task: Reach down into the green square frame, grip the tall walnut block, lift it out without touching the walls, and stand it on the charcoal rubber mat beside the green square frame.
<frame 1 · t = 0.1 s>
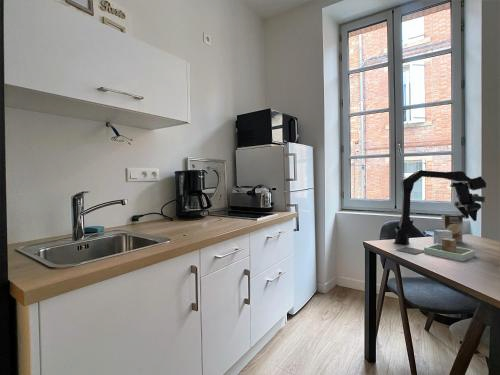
hand: (471, 219, 147), 15 cm above the table, tool pointing down, fingers open, 9 cm apart
coffee box: (451, 240, 162), on the table
walnut block: (448, 246, 135), in the green square frame
medicine box: (442, 245, 152), on the table
green square frame: (448, 254, 135), on the table
mat: (410, 251, 143), on the table
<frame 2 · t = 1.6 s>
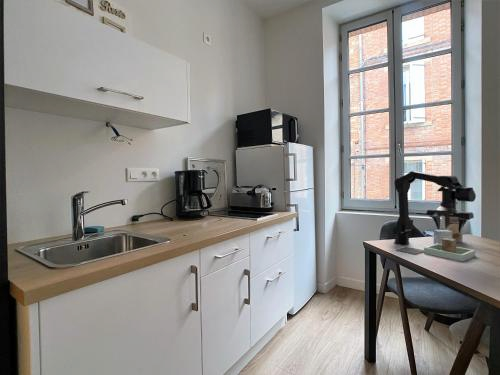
hand: (448, 230, 135), 12 cm above the table, tool pointing down, fingers open, 9 cm apart
nothing on the table moved.
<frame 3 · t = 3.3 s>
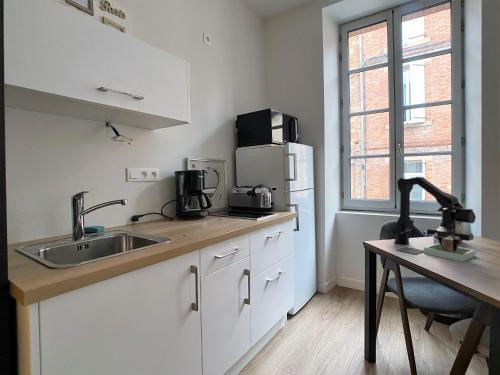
hand: (448, 250, 135), 2 cm above the table, tool pointing down, fingers closed on walnut block, 4 cm apart
walnut block: (448, 246, 135), in the green square frame, touching gripper
everything else where it was.
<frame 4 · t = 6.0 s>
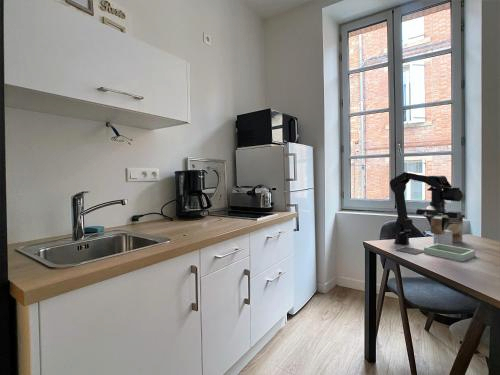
hand: (437, 229, 137), 13 cm above the table, tool pointing down, fingers closed on walnut block, 4 cm apart
walnut block: (437, 225, 137), point 15 cm above the table, touching gripper
everything else where it was.
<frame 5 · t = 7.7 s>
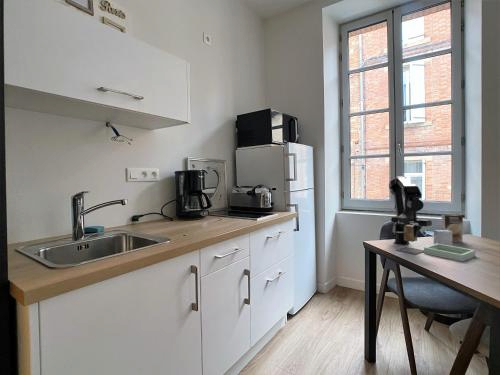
hand: (410, 236, 143), 8 cm above the table, tool pointing down, fingers closed on walnut block, 4 cm apart
walnut block: (410, 233, 143), point 10 cm above the table, touching gripper
everything else where it was.
when the fingers open (4 cm above the table, at t = 9.2 s): walnut block drops 1 cm, resting on mat.
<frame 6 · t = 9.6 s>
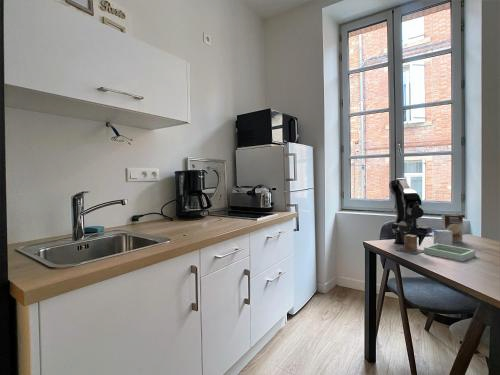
hand: (410, 243, 143), 4 cm above the table, tool pointing down, fingers open, 9 cm apart
walnut block: (410, 242, 143), on the mat
everything else where it was.
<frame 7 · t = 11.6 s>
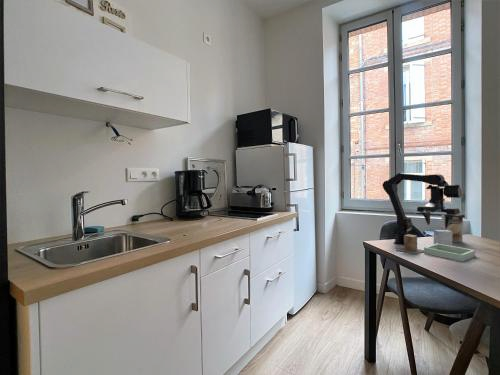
hand: (437, 225, 143), 13 cm above the table, tool pointing down, fingers open, 9 cm apart
nothing on the table moved.
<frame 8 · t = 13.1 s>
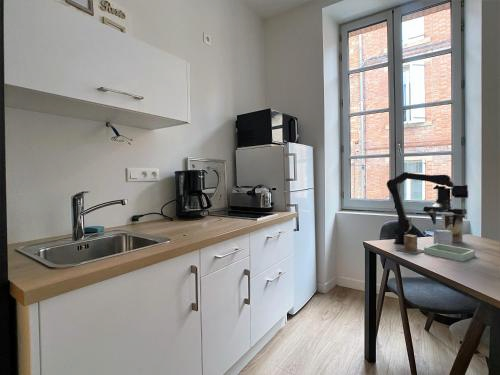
hand: (443, 225, 144), 13 cm above the table, tool pointing down, fingers open, 9 cm apart
nothing on the table moved.
at the end: walnut block inside the target area on the mat (0.0 cm from its centre), point 4.5 cm above the mat's base; walnut block tilted 0°; walnut block touching mat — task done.
